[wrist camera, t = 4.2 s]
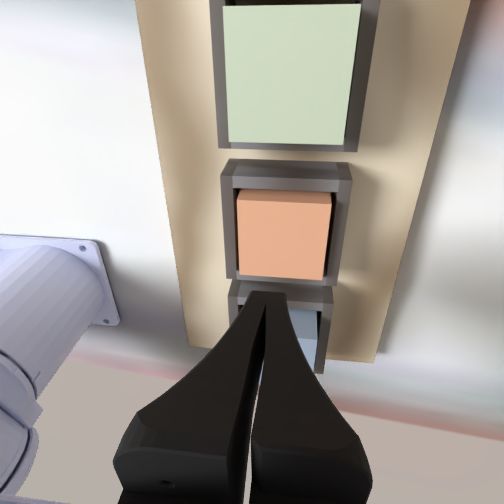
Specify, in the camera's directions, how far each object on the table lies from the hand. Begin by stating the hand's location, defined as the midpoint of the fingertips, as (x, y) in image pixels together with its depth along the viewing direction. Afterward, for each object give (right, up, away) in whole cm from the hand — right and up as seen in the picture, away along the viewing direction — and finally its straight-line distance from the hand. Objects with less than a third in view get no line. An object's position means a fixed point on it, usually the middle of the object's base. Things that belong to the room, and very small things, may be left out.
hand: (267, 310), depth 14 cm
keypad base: (+2, +5, +8) cm, 9 cm away
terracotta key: (+1, +4, +6) cm, 8 cm away
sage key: (+1, +10, +1) cm, 10 cm away
